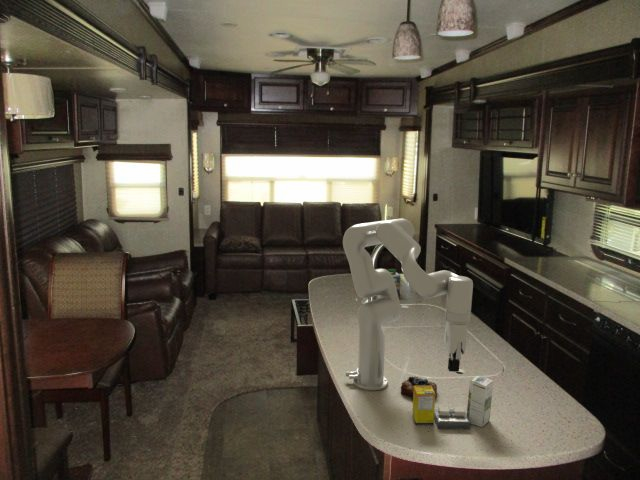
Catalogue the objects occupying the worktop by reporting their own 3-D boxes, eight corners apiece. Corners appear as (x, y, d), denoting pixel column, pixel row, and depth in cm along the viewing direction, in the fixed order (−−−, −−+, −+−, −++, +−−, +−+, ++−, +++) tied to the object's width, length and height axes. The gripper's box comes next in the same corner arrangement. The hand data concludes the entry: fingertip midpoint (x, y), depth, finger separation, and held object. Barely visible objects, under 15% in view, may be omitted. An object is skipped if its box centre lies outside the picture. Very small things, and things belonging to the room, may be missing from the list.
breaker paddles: (438, 415, 178) (439, 411, 177) (437, 410, 179) (438, 406, 178) (464, 415, 178) (465, 411, 177) (463, 411, 179) (464, 407, 178)
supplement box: (429, 415, 183) (431, 385, 180) (433, 425, 177) (435, 393, 175) (411, 415, 182) (413, 385, 180) (415, 425, 177) (417, 393, 174)
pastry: (411, 383, 206) (412, 369, 205) (441, 393, 199) (442, 378, 197) (396, 394, 197) (397, 379, 196) (427, 405, 190) (428, 389, 189)
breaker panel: (437, 428, 175) (438, 420, 174) (433, 415, 182) (433, 408, 182) (469, 429, 174) (470, 421, 174) (463, 416, 182) (464, 409, 182)
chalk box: (396, 291, 323) (398, 266, 320) (400, 295, 314) (401, 270, 311) (381, 291, 322) (382, 266, 319) (384, 295, 313) (385, 270, 310)
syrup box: (473, 415, 183) (476, 374, 180) (490, 421, 180) (493, 379, 177) (465, 421, 179) (468, 380, 176) (483, 428, 175) (486, 386, 172)
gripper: (440, 307, 179) (436, 360, 183) (451, 324, 165) (446, 380, 169) (464, 308, 179) (459, 360, 183) (476, 324, 165) (471, 381, 168)
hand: (453, 370), depth 176 cm, fingers closed
